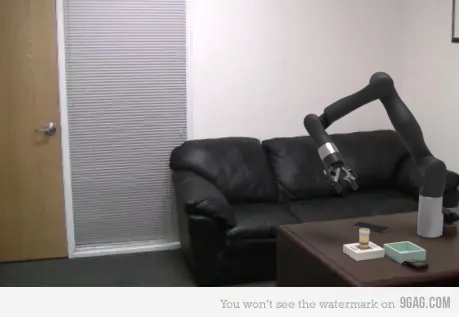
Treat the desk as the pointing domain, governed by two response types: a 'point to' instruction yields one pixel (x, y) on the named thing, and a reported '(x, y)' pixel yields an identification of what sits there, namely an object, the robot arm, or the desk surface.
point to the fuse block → (363, 251)
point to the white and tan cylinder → (364, 238)
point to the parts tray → (404, 251)
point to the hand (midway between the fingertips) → (348, 190)
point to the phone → (371, 227)
